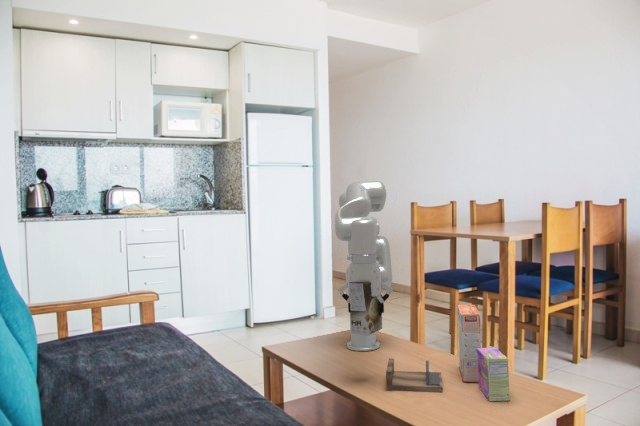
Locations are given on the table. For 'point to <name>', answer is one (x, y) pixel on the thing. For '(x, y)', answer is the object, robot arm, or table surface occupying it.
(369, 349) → the robot arm
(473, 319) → the cracker box
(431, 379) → the bookend
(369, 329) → the coffee box
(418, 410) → the table surface
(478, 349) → the box
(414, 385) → the shelf
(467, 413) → the table surface
